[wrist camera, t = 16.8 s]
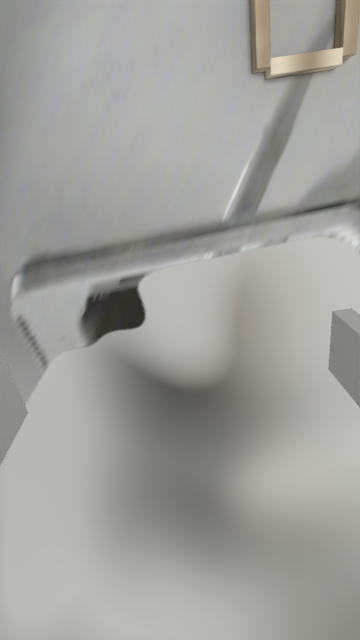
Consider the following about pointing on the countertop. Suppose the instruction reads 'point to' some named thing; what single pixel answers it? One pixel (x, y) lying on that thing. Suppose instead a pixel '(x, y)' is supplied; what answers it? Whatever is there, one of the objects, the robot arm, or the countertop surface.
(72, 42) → the countertop surface
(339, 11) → the collar
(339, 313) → the robot arm
